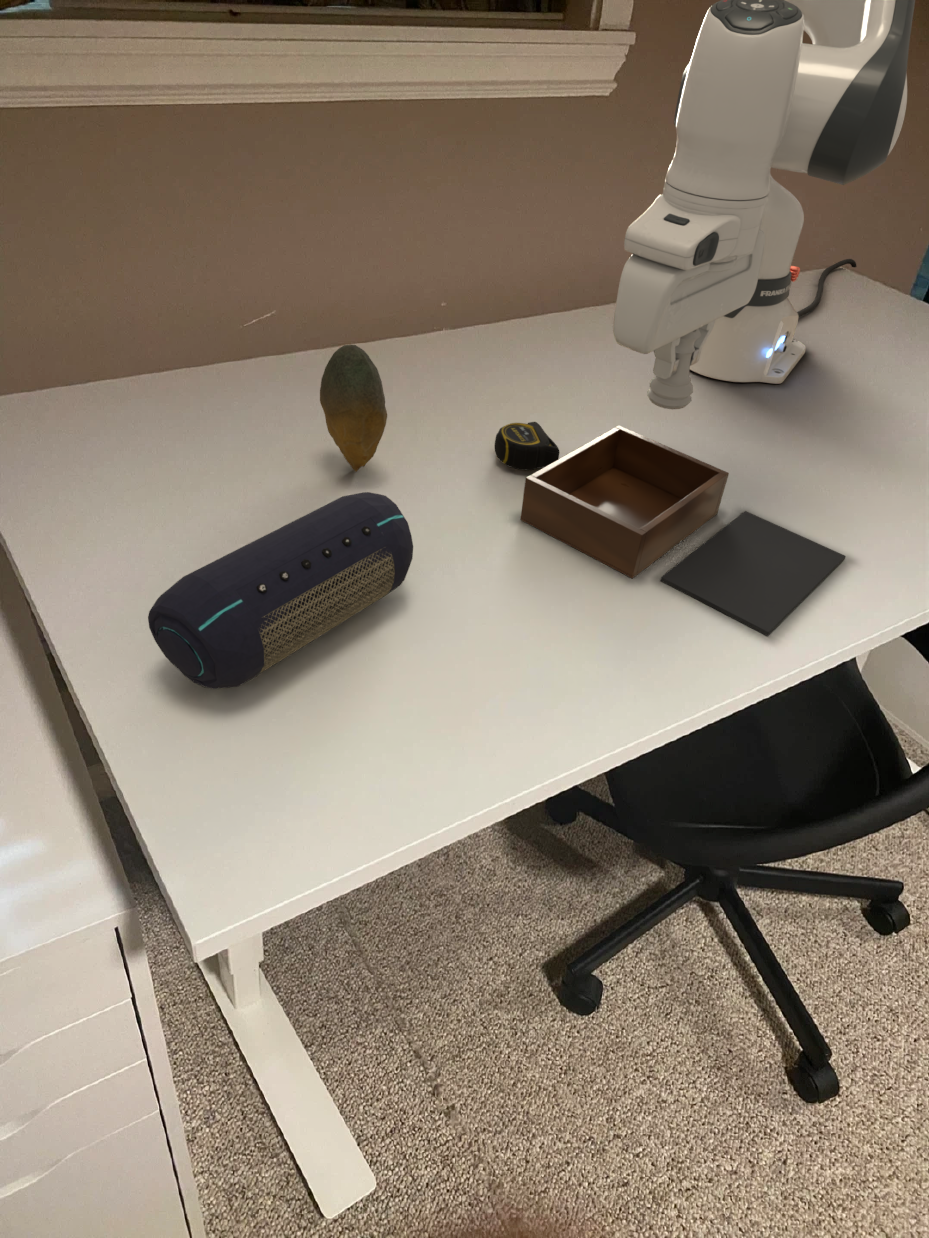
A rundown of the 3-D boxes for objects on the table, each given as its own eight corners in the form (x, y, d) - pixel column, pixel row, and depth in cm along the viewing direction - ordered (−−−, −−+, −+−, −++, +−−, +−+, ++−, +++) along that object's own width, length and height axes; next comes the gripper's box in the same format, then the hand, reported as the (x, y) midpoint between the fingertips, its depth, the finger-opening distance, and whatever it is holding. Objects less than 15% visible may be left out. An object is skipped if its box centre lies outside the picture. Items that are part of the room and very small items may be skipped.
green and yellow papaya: (399, 482, 104) (402, 356, 94) (353, 497, 101) (351, 368, 91) (353, 445, 109) (352, 324, 100) (309, 458, 106) (303, 334, 97)
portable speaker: (219, 729, 73) (205, 634, 66) (145, 669, 77) (125, 575, 71) (430, 592, 88) (435, 505, 82) (357, 550, 93) (356, 464, 87)
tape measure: (558, 473, 108) (563, 444, 105) (504, 479, 106) (507, 450, 103) (537, 445, 113) (541, 417, 110) (485, 450, 111) (488, 422, 108)
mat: (744, 514, 103) (745, 510, 103) (844, 559, 98) (846, 555, 97) (660, 580, 92) (661, 576, 92) (767, 636, 87) (769, 632, 86)
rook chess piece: (637, 399, 91) (652, 320, 86) (662, 386, 93) (678, 309, 88) (674, 415, 89) (693, 336, 83) (699, 401, 91) (718, 324, 86)
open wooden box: (610, 464, 110) (618, 424, 107) (717, 513, 103) (729, 472, 100) (520, 519, 99) (525, 477, 96) (632, 578, 92) (642, 535, 89)
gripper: (734, 192, 88) (701, 331, 97) (614, 234, 75) (588, 388, 84) (794, 209, 85) (754, 351, 94) (679, 254, 72) (645, 413, 81)
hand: (675, 369), depth 89 cm, fingers closed on rook chess piece, 3 cm apart
